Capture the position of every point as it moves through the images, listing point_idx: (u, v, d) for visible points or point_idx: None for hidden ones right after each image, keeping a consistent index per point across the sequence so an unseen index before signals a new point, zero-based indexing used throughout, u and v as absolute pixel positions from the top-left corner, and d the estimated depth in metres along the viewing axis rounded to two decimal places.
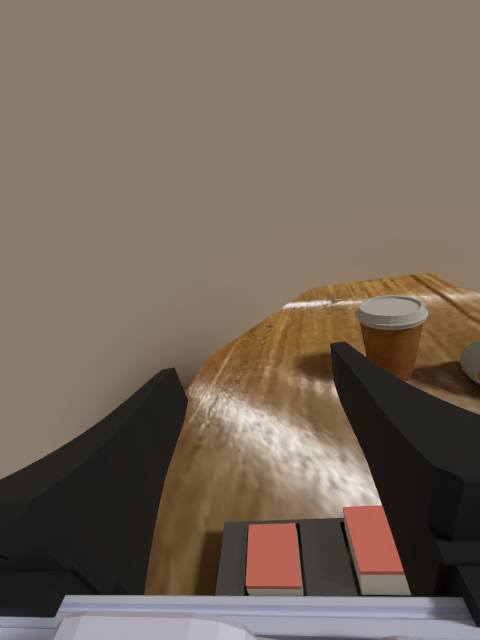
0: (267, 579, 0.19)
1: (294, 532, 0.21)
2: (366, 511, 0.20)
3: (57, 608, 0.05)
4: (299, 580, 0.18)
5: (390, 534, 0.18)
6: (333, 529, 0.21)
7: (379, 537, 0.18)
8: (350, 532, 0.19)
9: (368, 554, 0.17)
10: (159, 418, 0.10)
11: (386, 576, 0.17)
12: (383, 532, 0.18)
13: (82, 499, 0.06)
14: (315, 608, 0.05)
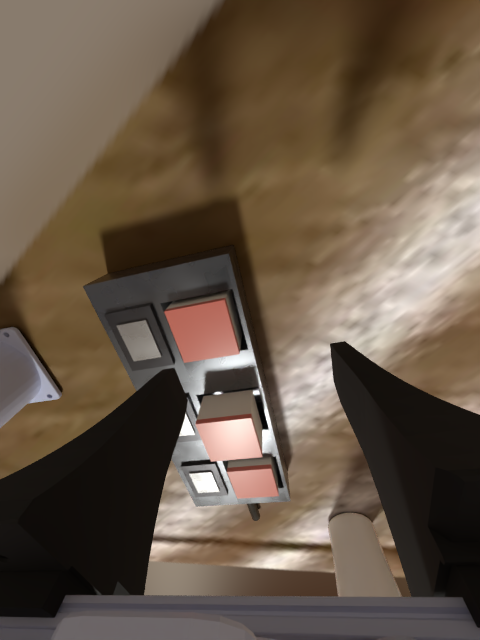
0: (177, 332, 0.17)
1: (229, 354, 0.17)
2: (250, 435, 0.18)
3: (57, 608, 0.05)
4: (187, 361, 0.18)
5: (232, 447, 0.19)
6: (248, 381, 0.19)
7: (227, 440, 0.18)
8: (226, 421, 0.18)
9: (210, 431, 0.18)
10: (159, 418, 0.10)
11: None
12: (233, 444, 0.19)
13: (82, 499, 0.06)
14: (315, 608, 0.05)
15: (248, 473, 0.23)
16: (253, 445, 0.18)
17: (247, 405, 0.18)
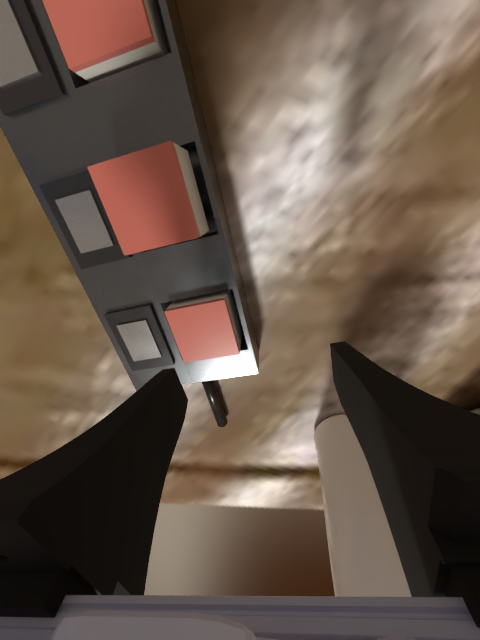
0: None
1: (135, 38, 0.11)
2: (174, 186, 0.11)
3: (57, 608, 0.05)
4: (73, 63, 0.11)
5: (152, 220, 0.12)
6: (180, 129, 0.13)
7: (141, 202, 0.12)
8: (133, 154, 0.11)
9: (112, 182, 0.12)
10: (159, 418, 0.10)
11: None
12: (151, 210, 0.12)
13: (82, 499, 0.06)
14: (315, 608, 0.05)
15: (193, 311, 0.16)
16: (182, 210, 0.12)
17: None
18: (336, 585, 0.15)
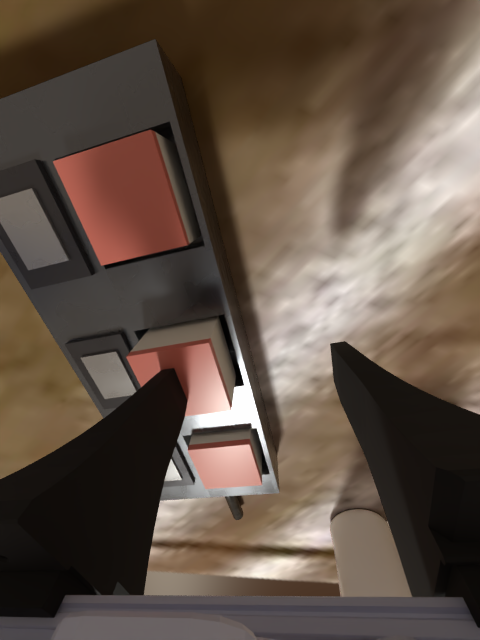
0: (81, 205, 0.10)
1: (170, 245, 0.11)
2: (210, 374, 0.12)
3: (57, 608, 0.05)
4: (106, 262, 0.11)
5: (186, 396, 0.13)
6: (210, 304, 0.13)
7: None
8: (172, 349, 0.11)
9: (150, 368, 0.12)
10: (159, 418, 0.10)
11: None
12: (186, 389, 0.12)
13: (82, 499, 0.06)
14: (315, 608, 0.05)
15: (217, 451, 0.16)
16: (216, 391, 0.12)
17: (207, 330, 0.12)
18: None
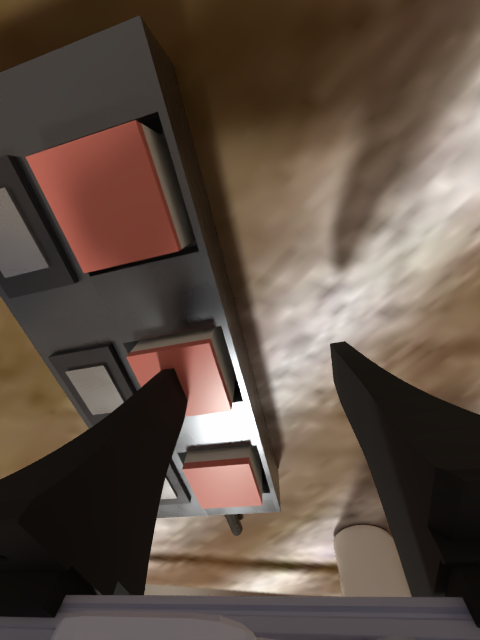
0: (60, 206, 0.09)
1: (160, 251, 0.09)
2: (210, 374, 0.12)
3: (57, 608, 0.05)
4: (89, 269, 0.10)
5: (186, 396, 0.13)
6: (205, 315, 0.11)
7: None
8: (172, 350, 0.11)
9: (150, 369, 0.12)
10: (159, 418, 0.10)
11: None
12: (186, 390, 0.12)
13: (82, 499, 0.06)
14: (315, 608, 0.05)
15: (214, 470, 0.15)
16: (216, 391, 0.12)
17: (207, 331, 0.12)
18: None
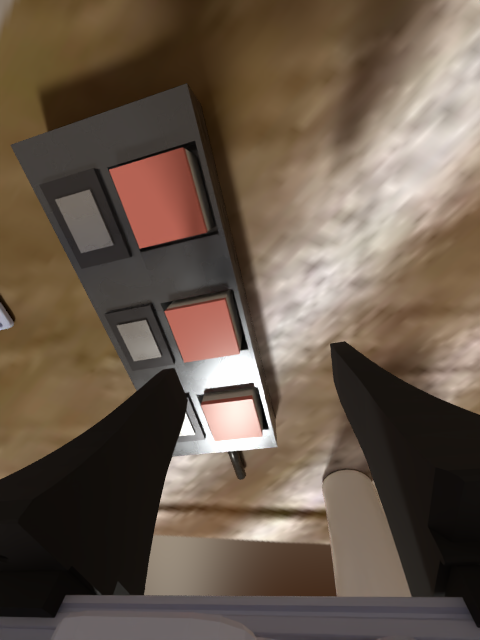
0: (128, 202, 0.14)
1: (193, 233, 0.14)
2: (225, 324, 0.16)
3: (57, 608, 0.05)
4: (143, 245, 0.14)
5: (207, 342, 0.17)
6: (221, 280, 0.16)
7: (200, 332, 0.17)
8: (198, 305, 0.16)
9: (181, 320, 0.16)
10: (159, 418, 0.10)
11: None
12: (207, 337, 0.17)
13: (82, 499, 0.06)
14: (315, 608, 0.05)
15: (225, 406, 0.19)
16: (229, 338, 0.17)
17: (222, 293, 0.17)
18: None
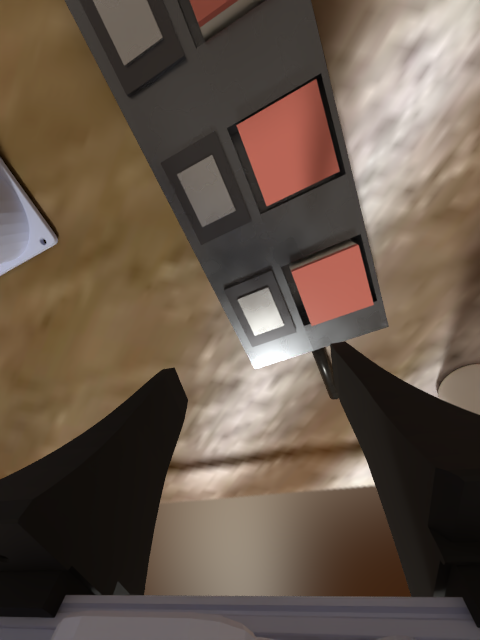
0: None
1: None
2: (318, 123, 0.12)
3: (57, 608, 0.05)
4: (203, 15, 0.11)
5: (294, 163, 0.13)
6: (305, 63, 0.12)
7: (285, 148, 0.13)
8: (280, 102, 0.12)
9: (259, 134, 0.13)
10: (159, 418, 0.10)
11: None
12: (294, 154, 0.13)
13: (82, 499, 0.06)
14: (315, 608, 0.05)
15: (323, 265, 0.15)
16: (324, 147, 0.13)
17: None
18: None
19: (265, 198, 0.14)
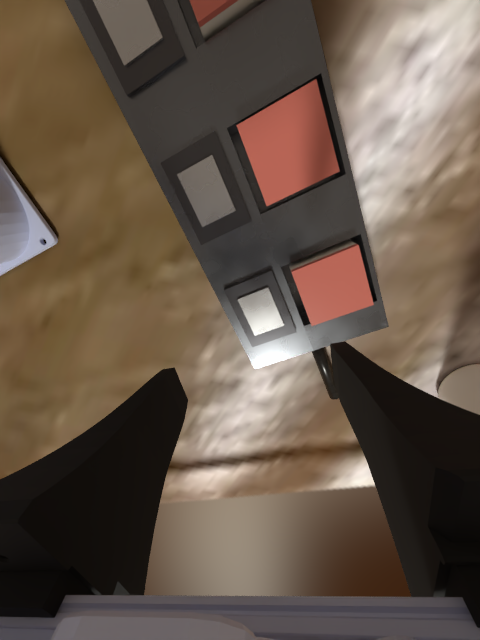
0: None
1: None
2: (318, 123, 0.12)
3: (57, 608, 0.05)
4: (203, 15, 0.11)
5: (294, 163, 0.13)
6: (305, 63, 0.12)
7: (285, 148, 0.13)
8: (280, 102, 0.12)
9: (259, 134, 0.13)
10: (159, 418, 0.10)
11: None
12: (294, 154, 0.13)
13: (82, 499, 0.06)
14: (315, 608, 0.05)
15: (323, 265, 0.15)
16: (324, 147, 0.13)
17: None
18: None
19: (265, 198, 0.14)
